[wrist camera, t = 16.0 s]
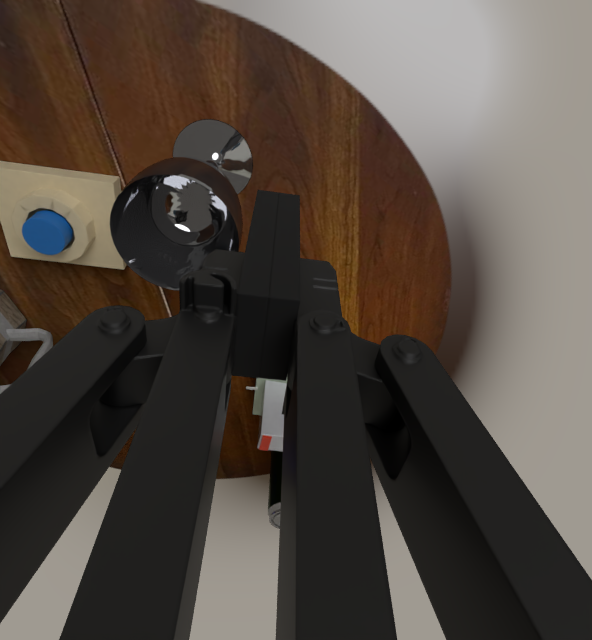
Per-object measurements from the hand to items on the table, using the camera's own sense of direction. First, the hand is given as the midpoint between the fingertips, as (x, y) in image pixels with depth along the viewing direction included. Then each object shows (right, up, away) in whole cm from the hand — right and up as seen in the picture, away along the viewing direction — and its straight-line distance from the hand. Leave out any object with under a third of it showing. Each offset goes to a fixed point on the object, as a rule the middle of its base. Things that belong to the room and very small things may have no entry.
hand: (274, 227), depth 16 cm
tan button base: (-21, +7, +26) cm, 34 cm away
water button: (-21, +5, +23) cm, 32 cm away
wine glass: (-7, +11, +23) cm, 26 cm away
